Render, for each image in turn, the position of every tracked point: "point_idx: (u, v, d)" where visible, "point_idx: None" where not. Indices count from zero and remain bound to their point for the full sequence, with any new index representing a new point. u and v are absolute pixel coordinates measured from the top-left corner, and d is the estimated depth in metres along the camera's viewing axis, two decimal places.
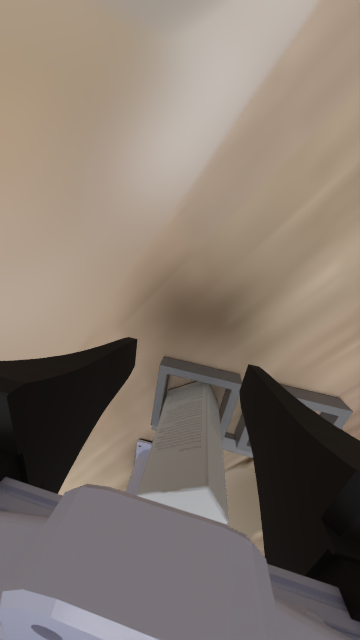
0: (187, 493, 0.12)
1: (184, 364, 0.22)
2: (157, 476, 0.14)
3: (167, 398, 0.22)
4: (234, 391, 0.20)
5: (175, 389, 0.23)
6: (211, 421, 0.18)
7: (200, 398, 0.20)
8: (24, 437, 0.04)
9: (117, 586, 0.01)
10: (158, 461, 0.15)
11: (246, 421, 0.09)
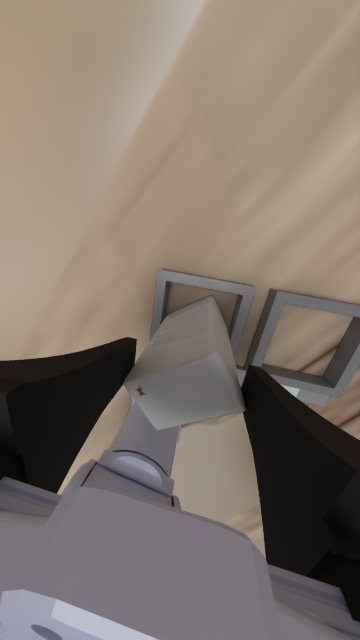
0: (190, 366, 0.09)
1: (186, 273, 0.19)
2: (151, 362, 0.10)
3: (166, 318, 0.19)
4: (246, 297, 0.17)
5: (175, 311, 0.20)
6: (219, 322, 0.14)
7: (205, 305, 0.16)
8: (23, 436, 0.04)
9: (117, 586, 0.01)
10: (152, 354, 0.12)
11: (247, 421, 0.09)
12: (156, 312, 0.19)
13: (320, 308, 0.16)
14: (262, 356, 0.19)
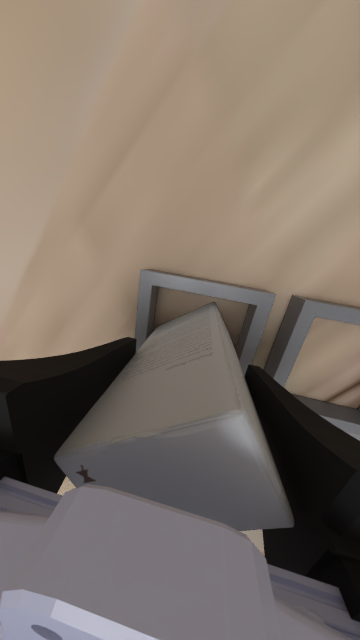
0: (180, 438, 0.04)
1: (180, 275, 0.14)
2: (112, 414, 0.06)
3: (154, 331, 0.14)
4: (262, 308, 0.12)
5: (167, 322, 0.16)
6: (227, 339, 0.10)
7: (206, 315, 0.12)
8: (23, 437, 0.04)
9: (117, 586, 0.01)
10: (120, 393, 0.07)
11: None
12: (140, 326, 0.14)
13: None
14: (281, 385, 0.14)
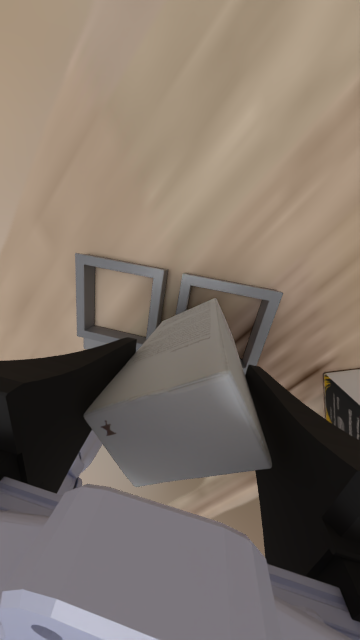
0: (182, 394, 0.05)
1: (106, 258, 0.20)
2: (127, 384, 0.07)
3: (160, 325, 0.16)
4: (156, 280, 0.18)
5: (172, 317, 0.17)
6: (225, 329, 0.11)
7: (207, 309, 0.13)
8: (23, 436, 0.04)
9: (117, 586, 0.01)
10: (133, 370, 0.08)
11: None
12: (79, 295, 0.20)
13: (222, 290, 0.17)
14: None
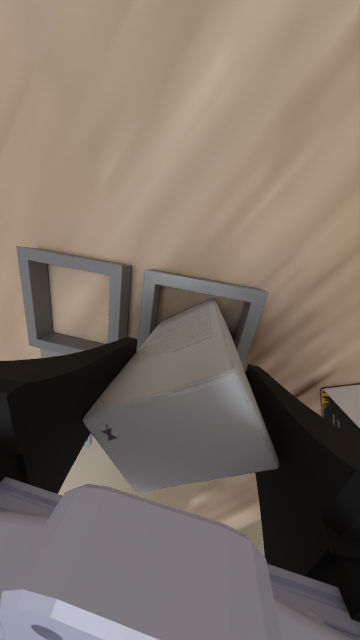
0: (187, 395, 0.05)
1: (57, 252, 0.16)
2: (128, 386, 0.07)
3: (158, 325, 0.16)
4: (114, 278, 0.15)
5: (170, 317, 0.17)
6: (226, 328, 0.11)
7: (206, 308, 0.13)
8: (24, 437, 0.04)
9: (117, 586, 0.01)
10: (133, 372, 0.08)
11: None
12: (26, 297, 0.17)
13: (193, 289, 0.14)
14: None
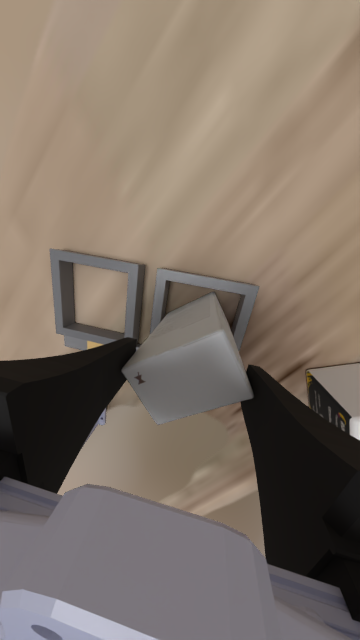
0: (193, 347, 0.08)
1: (82, 253, 0.19)
2: (151, 349, 0.10)
3: (166, 315, 0.19)
4: (132, 275, 0.18)
5: (176, 309, 0.20)
6: (222, 313, 0.14)
7: (207, 299, 0.16)
8: (23, 436, 0.04)
9: (117, 586, 0.01)
10: (153, 343, 0.11)
11: (246, 421, 0.09)
12: (56, 291, 0.20)
13: (197, 284, 0.17)
14: None
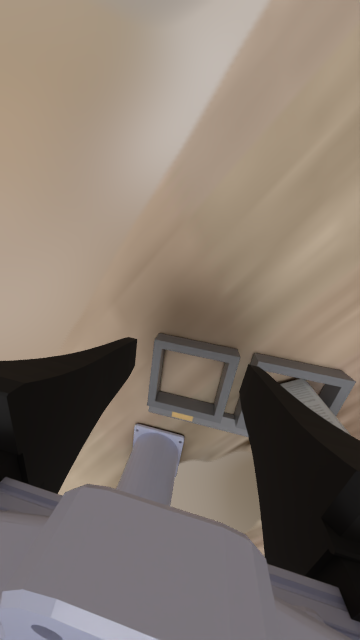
0: None
1: (180, 339, 0.21)
2: None
3: None
4: (232, 364, 0.20)
5: None
6: None
7: (314, 402, 0.17)
8: (24, 437, 0.04)
9: (116, 586, 0.01)
10: None
11: (246, 421, 0.09)
12: (153, 372, 0.22)
13: (296, 376, 0.19)
14: None
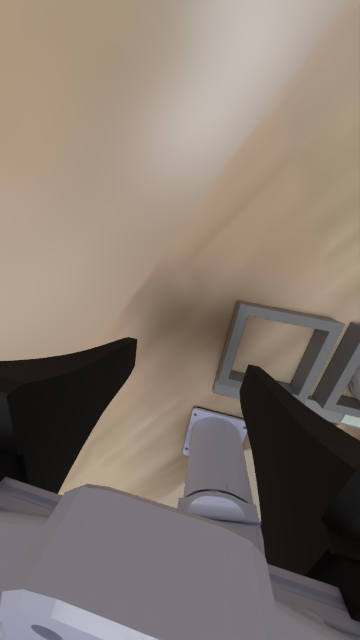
0: None
1: (265, 306, 0.18)
2: None
3: (359, 373, 0.18)
4: (333, 333, 0.17)
5: None
6: None
7: None
8: (24, 437, 0.04)
9: (117, 586, 0.01)
10: None
11: (246, 421, 0.09)
12: (232, 345, 0.19)
13: None
14: (341, 390, 0.19)
